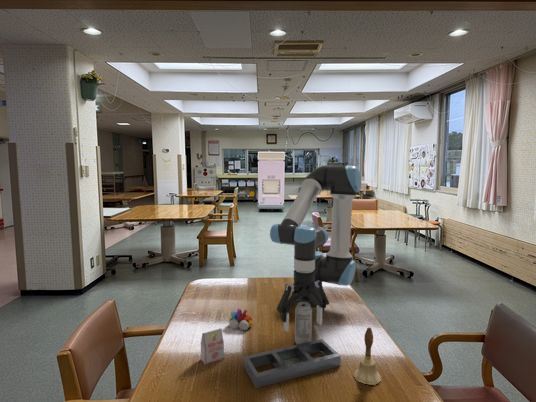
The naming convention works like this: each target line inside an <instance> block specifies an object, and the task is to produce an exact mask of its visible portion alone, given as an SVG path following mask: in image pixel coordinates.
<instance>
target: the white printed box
mask: <svg viewBox="0 0 536 402" xmlns="http://www.w3.org/2000/svg"><path fill="white" fill-rule="evenodd" d="M200 339H201V340H200V360H201V362H203V365H205V366H206V365H209V364H212V363H215V362H219V361H221V360H224V359H225V343H224V342H225V341H224V337H223V329H222V328H218V329H213V330H210V331H206V332H202V335H201V338H200Z"/></svg>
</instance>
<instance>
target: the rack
mask: <svg viewBox="0 0 536 402" xmlns="http://www.w3.org/2000/svg"><path fill="white" fill-rule="evenodd" d="M320 352H321V353H322V354H323V355H324V356H320V357H317V358H313V357H312V356H311V355H312V354H315V353H320ZM341 359H342V358H341V354H340V353H338V352H337V351H336V350H335V349H334V348H333V347H332V346H330V344H329V343H327V342H326V341H325V340H324V339H323V338H320V339H316V340H315V339H314V340H311V341H310V342H306V343H302V344H293V345H289V346H285V347H280V348H275V349H271V350H267V351H263V352H259V353H253V354H250V355H245V356H243V361H242V362H243V369H244V370H245V371H246V374H247V376H248V377H249V378H250V381H251V382H252V384H253V385H254V387H255V388H256V389H259V388H263V387H267V386H271V385H273V384H277V383H281V382H285V381H288V380H291V379H296V378H299V377H303V376H307V375H311V374H314V373H318V372H322V371H326V370H329V369H333V367H334V368H337V366H338V367H341ZM271 364H272V366H273V367H274V368H272V369H268V370H264V371H260V372H258V370H257V369H256V368H258V367H262V366H267V365H271ZM325 369H326V370H325Z"/></svg>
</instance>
